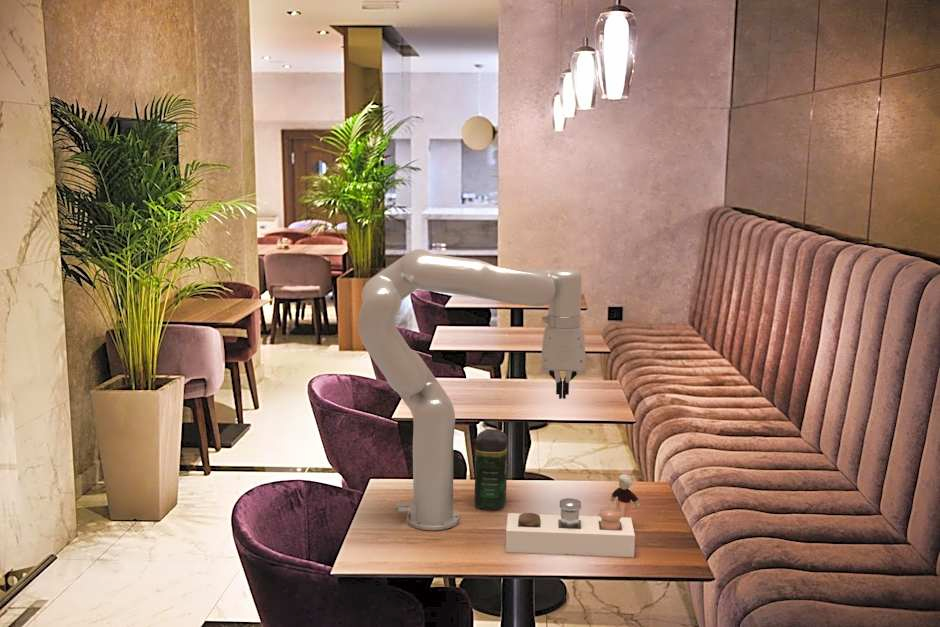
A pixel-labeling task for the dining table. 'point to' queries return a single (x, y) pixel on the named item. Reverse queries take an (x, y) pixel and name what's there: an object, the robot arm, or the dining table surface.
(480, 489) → the coffee jar
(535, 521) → the walnut plug
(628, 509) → the grandmother figurine
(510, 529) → the socket strip
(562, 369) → the robot arm
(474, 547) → the dining table surface
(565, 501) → the grey plug
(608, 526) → the terracotta plug
